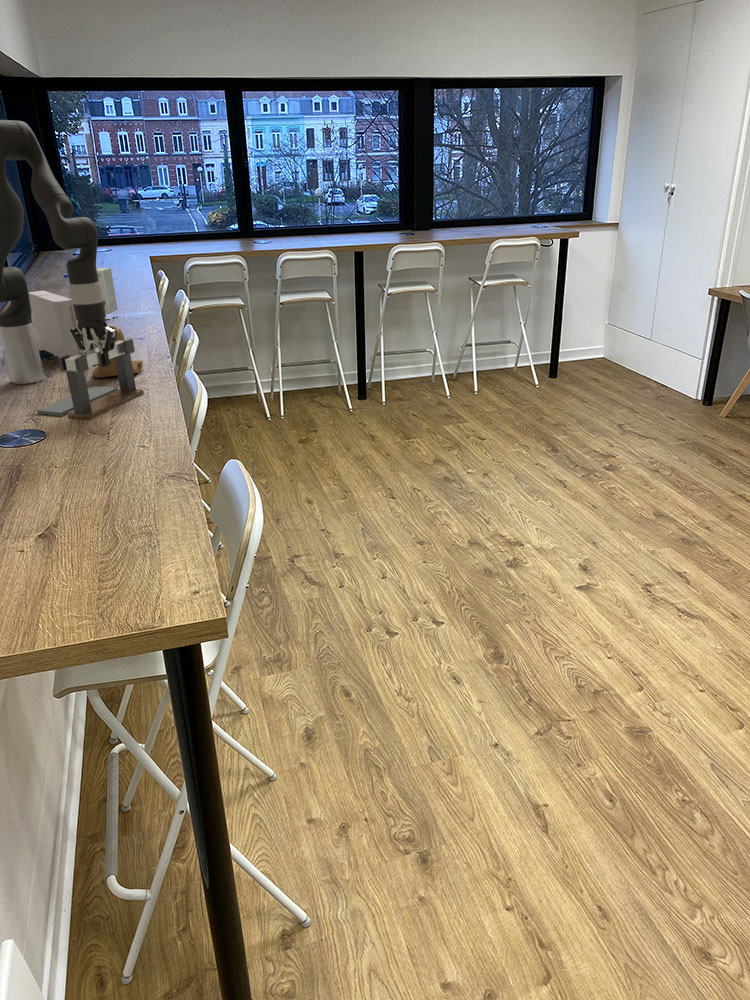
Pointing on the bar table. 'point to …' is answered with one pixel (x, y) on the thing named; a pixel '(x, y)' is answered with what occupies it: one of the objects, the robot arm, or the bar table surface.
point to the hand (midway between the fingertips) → (100, 365)
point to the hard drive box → (107, 289)
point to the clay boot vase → (112, 369)
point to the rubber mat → (67, 404)
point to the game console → (54, 323)
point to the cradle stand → (105, 403)
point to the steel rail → (94, 356)
